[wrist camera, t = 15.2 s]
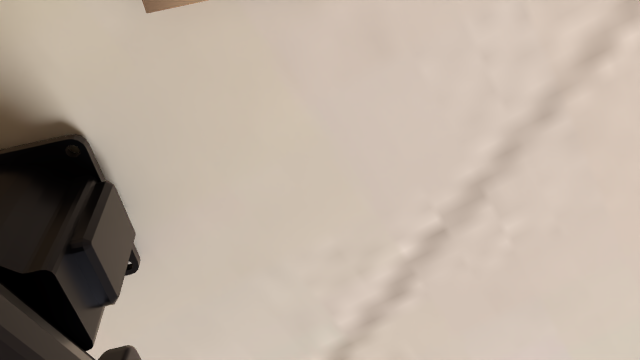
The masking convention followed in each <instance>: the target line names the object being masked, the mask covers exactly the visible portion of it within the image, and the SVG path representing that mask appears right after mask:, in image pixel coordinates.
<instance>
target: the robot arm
mask: <svg viewBox="0 0 640 360" xmlns="http://www.w3.org/2000/svg"><path fill="white" fill-rule="evenodd" d="M69 145H75V146H77V147H78V148H79V149H80V152H79V153H75V152H72V151H71V150H70V149H69ZM134 239H135V231H134V229H133V226H132V224H131V222H130V219H129V217H128V215H127V213H126V210H125V208H124V206H123V204H122V201H121V199H120V197H119V194H118V192H117V190H116V188H115V186H114V185H113V184H112V183H110V182H109V181H105V178H104V176H103V174H102V172H101V169H100V167H99V165H98V163H97V160H96V158H95V156H94V154H93V152H92V149H91V147H90V145H89V143H88V142H87V140H86V139H85V138H83V137H82V136H79V135H76V134H75V135H67V136H62V137H57V138H53V139H48V140H44V141H39V142H35V143H30V144H26V145H21V146H17V147H12V148H7V149H3V150H0V360H95V359H94V358H93V357H92V356H90V355H89V354H88V353H87V352H86V351H88V350H90V349H92V347H93V345H94V342H95V339H96V335H97V332H98V328H99V325H100V321H101V318H102V315H103V311H104V308H105V306H108V305H113V304H115V302H116V300H117V299H118V297H119V295H120V291H121V287H122V284H123V280H124V276H126V275H130V274H133V273H135V272H136V271H137V270H138V268H139V264H140V256H139V254H138V252H137V250H136V248H135V245H134V243H133V242H134ZM128 261H130V262H131V263H132V264H128ZM98 360H141V358H140V356H139V354H138V352H137V350H136V349H135V348H134V347H133V346H130V345H127V346H123V347H119V348H114V349H110V350H108V351H106V352H104V353H103V354H102V355H101V357H100V358H99V359H98Z"/></svg>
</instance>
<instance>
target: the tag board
mask: <svg viewBox="0 0 640 360" xmlns="http://www.w3.org/2000/svg"><path fill="white" fill-rule="evenodd" d="M142 1H143V4H144V7H145V10H146V13H151V12H155V11H160V10H165V9H170V8H174V7H179V6H184V5H188V4H193V3H198V2H202V1H207V0H142Z"/></svg>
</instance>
